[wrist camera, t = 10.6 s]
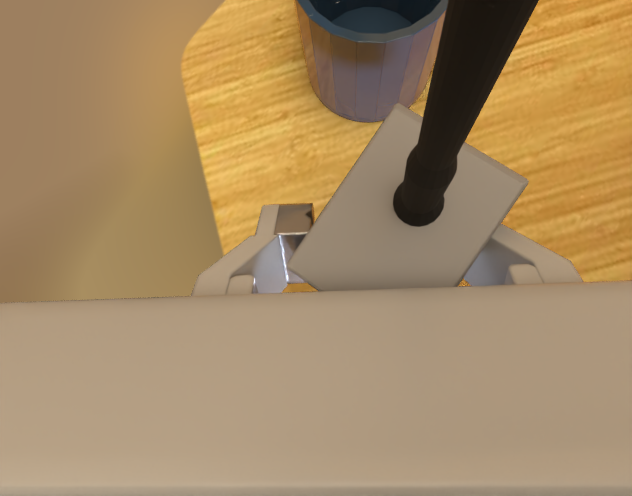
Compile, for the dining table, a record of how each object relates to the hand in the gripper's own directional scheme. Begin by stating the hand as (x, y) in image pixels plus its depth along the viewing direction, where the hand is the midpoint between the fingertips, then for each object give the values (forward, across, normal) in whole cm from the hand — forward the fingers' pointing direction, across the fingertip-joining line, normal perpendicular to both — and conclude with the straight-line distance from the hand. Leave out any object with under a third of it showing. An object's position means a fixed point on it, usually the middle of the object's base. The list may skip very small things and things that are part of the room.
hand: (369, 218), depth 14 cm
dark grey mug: (+30, -1, +3) cm, 30 cm away
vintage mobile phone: (+10, -2, +10) cm, 14 cm away
